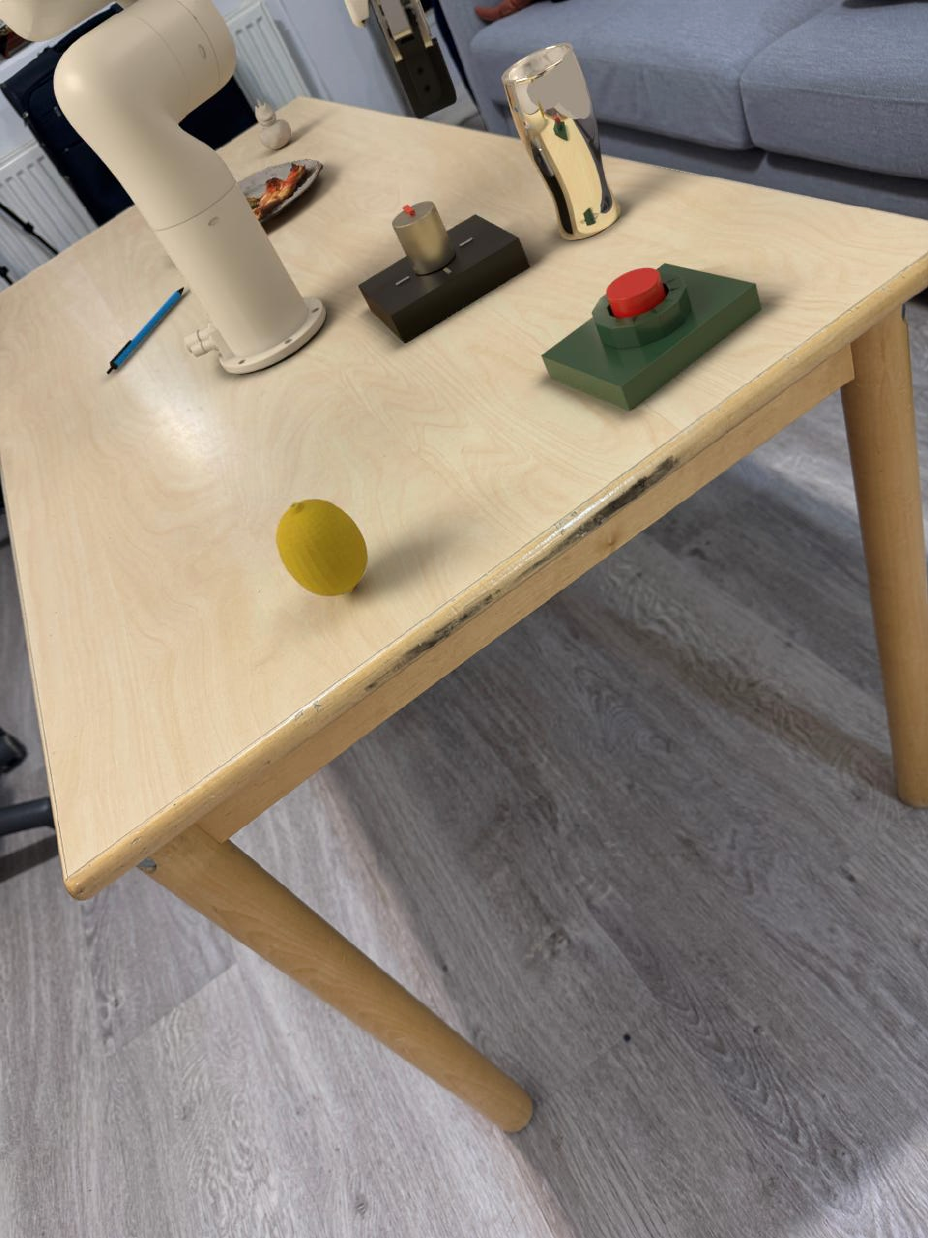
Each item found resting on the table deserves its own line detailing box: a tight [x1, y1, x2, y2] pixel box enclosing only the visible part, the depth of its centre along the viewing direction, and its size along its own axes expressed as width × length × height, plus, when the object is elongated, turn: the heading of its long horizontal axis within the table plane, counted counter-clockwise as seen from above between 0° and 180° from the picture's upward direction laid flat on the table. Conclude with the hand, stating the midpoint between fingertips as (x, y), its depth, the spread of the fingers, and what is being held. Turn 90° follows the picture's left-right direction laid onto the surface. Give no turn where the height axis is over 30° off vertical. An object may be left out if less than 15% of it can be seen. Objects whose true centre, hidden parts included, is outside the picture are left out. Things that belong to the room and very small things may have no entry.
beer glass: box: [500, 42, 622, 241], centre depth 89 cm, size 7×7×15 cm
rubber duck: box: [254, 98, 292, 150], centre depth 161 cm, size 5×7×8 cm
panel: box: [357, 213, 531, 344], centre depth 96 cm, size 14×11×3 cm
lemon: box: [275, 498, 369, 597], centre depth 66 cm, size 6×6×8 cm
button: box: [605, 267, 666, 318], centre depth 72 cm, size 4×4×2 cm
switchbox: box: [541, 262, 762, 412], centre depth 73 cm, size 13×10×4 cm
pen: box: [106, 286, 185, 375], centre depth 124 cm, size 1×19×1 cm, turn 160°
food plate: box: [236, 158, 324, 225], centre depth 141 cm, size 25×23×4 cm
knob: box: [391, 200, 455, 275], centre depth 93 cm, size 4×4×5 cm
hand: (437, 106), depth 70 cm, fingers closed
